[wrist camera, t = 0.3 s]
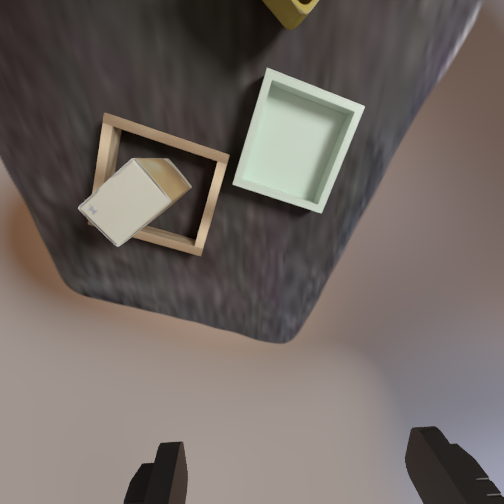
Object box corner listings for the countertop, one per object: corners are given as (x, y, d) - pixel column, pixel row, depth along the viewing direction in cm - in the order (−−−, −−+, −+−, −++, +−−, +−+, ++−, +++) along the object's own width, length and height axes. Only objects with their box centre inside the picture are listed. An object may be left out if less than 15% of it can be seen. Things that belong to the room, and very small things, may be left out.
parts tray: (264, 75, 30) (267, 67, 27) (354, 110, 32) (365, 106, 29) (232, 181, 34) (232, 184, 31) (315, 208, 35) (321, 213, 32)
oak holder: (114, 115, 31) (104, 112, 28) (229, 154, 33) (229, 155, 30) (97, 219, 34) (87, 224, 32) (202, 249, 36) (200, 256, 34)
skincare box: (155, 218, 35) (115, 251, 23) (129, 190, 33) (72, 210, 22) (195, 185, 34) (173, 202, 22) (169, 154, 32) (132, 156, 21)
